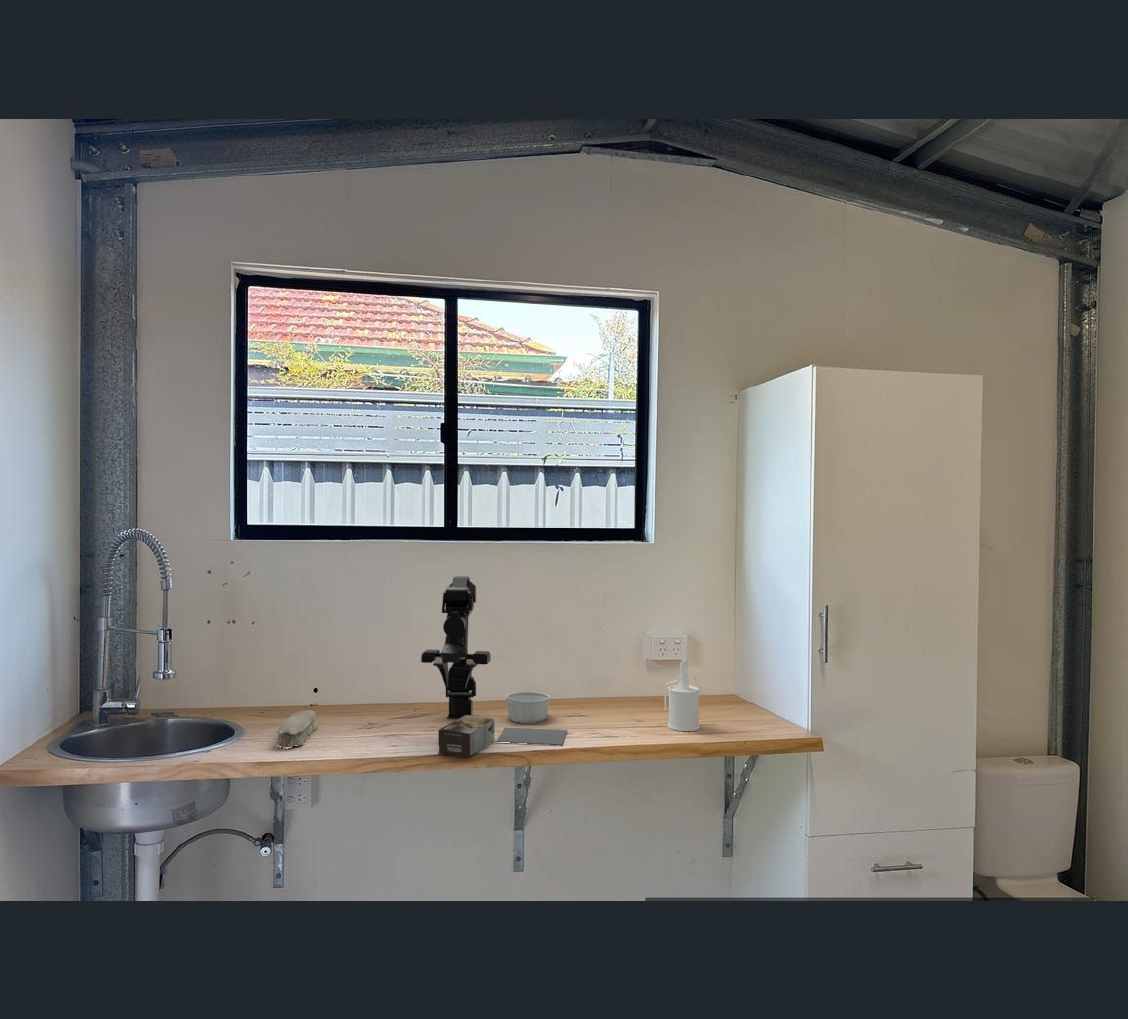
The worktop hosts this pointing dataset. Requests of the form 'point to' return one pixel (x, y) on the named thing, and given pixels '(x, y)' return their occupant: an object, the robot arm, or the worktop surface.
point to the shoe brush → (297, 728)
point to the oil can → (683, 702)
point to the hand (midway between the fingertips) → (455, 687)
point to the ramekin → (527, 706)
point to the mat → (532, 736)
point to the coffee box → (466, 736)
